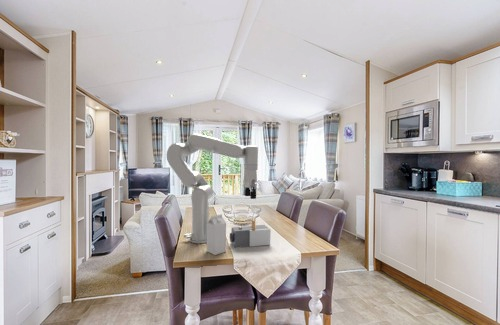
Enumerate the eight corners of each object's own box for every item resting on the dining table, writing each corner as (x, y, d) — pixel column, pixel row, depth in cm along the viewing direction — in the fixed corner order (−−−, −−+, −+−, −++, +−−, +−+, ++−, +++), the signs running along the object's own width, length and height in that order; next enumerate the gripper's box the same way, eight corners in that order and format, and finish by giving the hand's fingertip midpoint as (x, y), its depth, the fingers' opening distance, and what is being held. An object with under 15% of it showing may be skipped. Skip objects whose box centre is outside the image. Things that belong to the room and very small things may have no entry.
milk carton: (206, 251, 139) (206, 215, 138) (217, 248, 144) (217, 213, 143) (214, 255, 133) (215, 217, 133) (225, 251, 138) (226, 215, 138)
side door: (250, 246, 146) (250, 220, 145) (249, 245, 148) (249, 220, 147) (270, 244, 150) (270, 219, 149) (269, 243, 151) (269, 218, 151)
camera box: (232, 247, 144) (232, 229, 144) (228, 243, 152) (228, 226, 152) (269, 244, 151) (269, 227, 151) (263, 239, 159) (264, 223, 159)
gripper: (240, 166, 159) (239, 195, 160) (249, 168, 143) (249, 200, 143) (251, 166, 162) (251, 194, 162) (262, 168, 145) (262, 199, 146)
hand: (250, 197), depth 153 cm, fingers open, 9 cm apart
